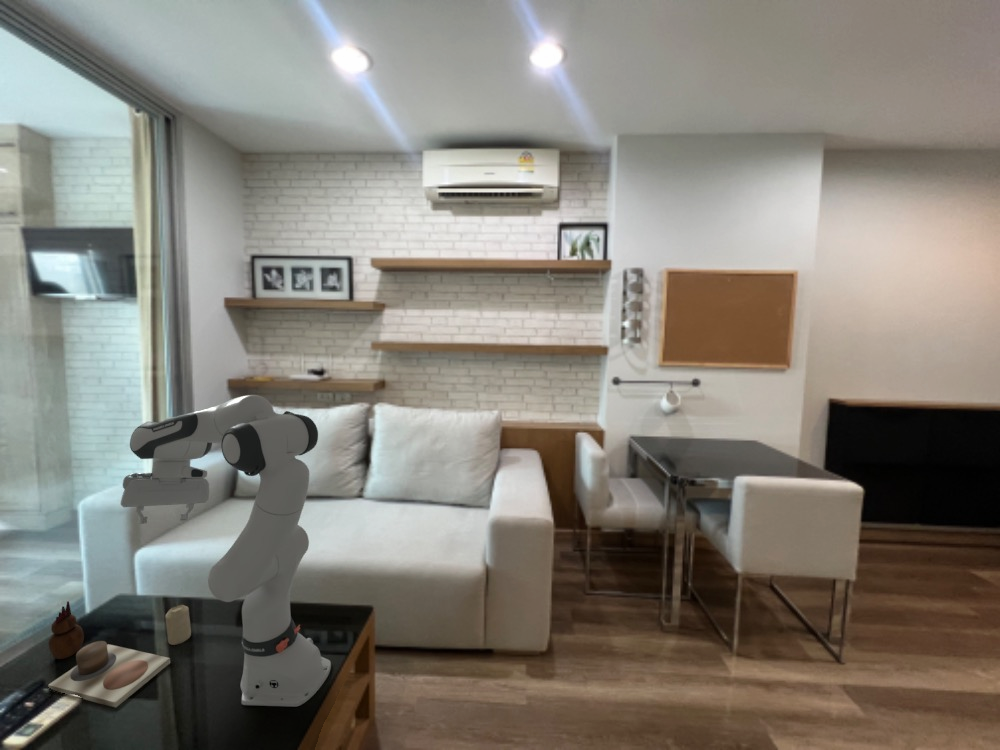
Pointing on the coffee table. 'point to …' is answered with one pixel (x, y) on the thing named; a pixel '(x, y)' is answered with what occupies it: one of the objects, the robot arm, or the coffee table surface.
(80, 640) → the wooden figurine
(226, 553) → the robot arm
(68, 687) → the board
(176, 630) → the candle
